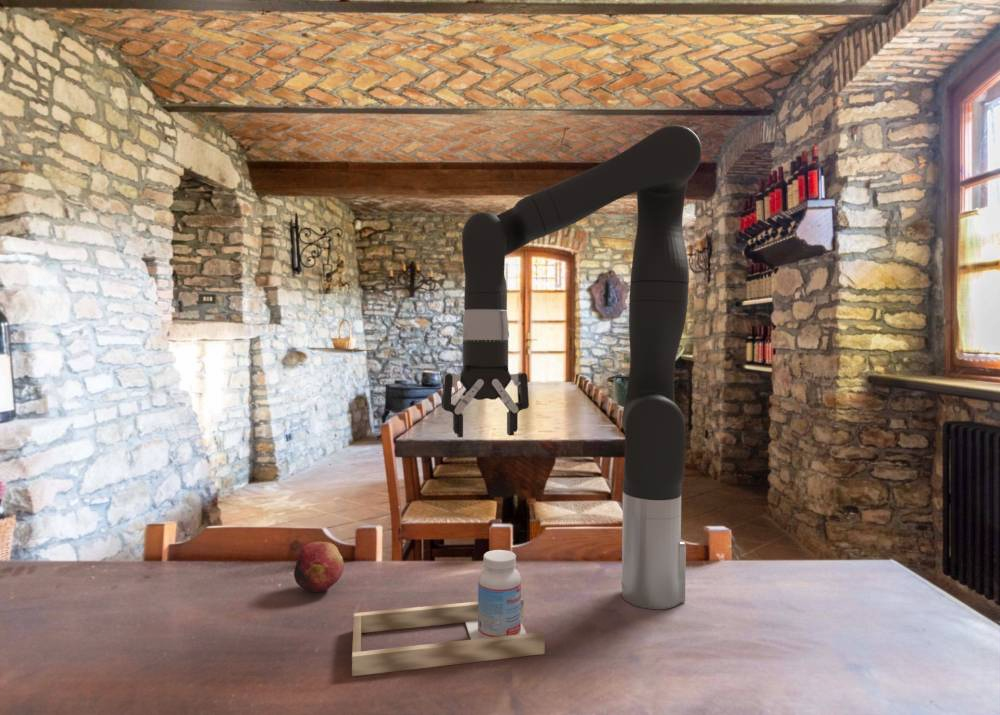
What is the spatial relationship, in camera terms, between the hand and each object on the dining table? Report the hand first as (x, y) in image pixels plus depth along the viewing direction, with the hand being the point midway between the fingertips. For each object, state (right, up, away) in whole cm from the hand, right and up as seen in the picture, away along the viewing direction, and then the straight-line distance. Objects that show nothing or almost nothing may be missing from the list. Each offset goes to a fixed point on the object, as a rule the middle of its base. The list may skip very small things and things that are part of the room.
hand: (485, 435), depth 98 cm
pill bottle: (+2, -26, -14) cm, 30 cm away
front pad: (+2, -27, -14) cm, 30 cm away
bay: (-5, -27, -16) cm, 31 cm away
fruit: (-28, -26, +1) cm, 38 cm away
